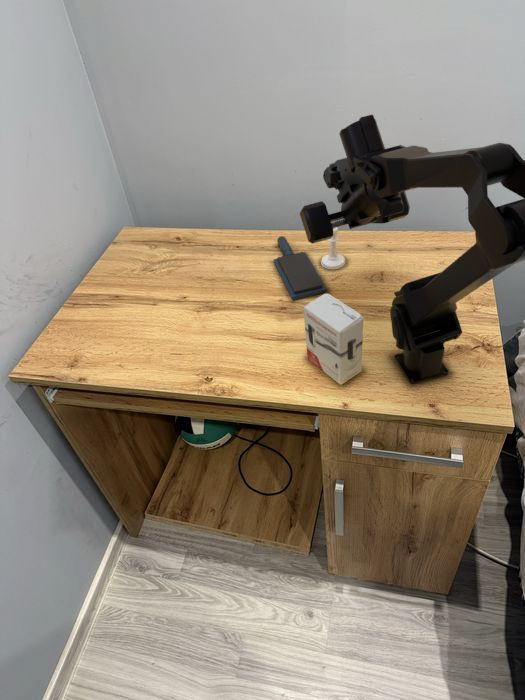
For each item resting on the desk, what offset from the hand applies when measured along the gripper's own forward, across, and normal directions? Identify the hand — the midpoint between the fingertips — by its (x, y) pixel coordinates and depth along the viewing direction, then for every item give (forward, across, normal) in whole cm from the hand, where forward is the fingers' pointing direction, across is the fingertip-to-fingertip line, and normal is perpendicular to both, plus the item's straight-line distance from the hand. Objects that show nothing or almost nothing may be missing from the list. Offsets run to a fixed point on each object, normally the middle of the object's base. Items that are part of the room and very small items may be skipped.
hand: (340, 226), depth 94 cm
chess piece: (+10, 0, +5) cm, 11 cm away
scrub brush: (+11, +8, +3) cm, 14 cm away
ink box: (-9, +12, +24) cm, 29 cm away
